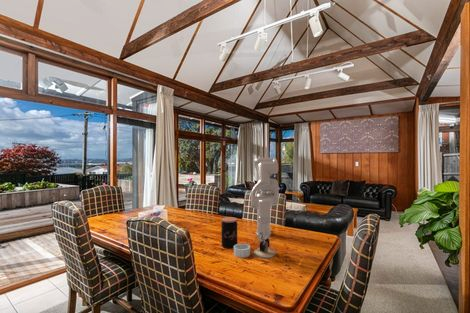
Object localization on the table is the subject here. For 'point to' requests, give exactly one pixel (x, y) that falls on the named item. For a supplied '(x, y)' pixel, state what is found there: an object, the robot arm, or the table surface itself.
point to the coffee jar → (229, 232)
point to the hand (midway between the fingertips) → (264, 248)
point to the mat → (259, 257)
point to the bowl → (241, 250)
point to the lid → (266, 254)
